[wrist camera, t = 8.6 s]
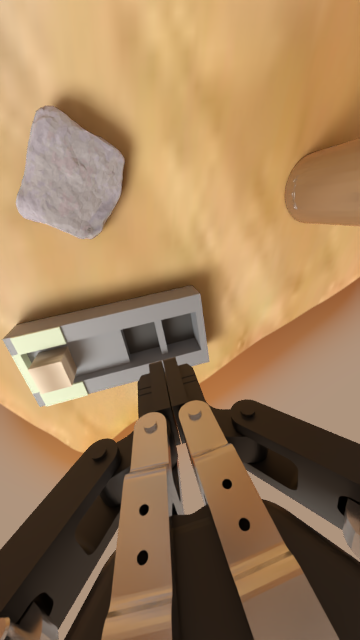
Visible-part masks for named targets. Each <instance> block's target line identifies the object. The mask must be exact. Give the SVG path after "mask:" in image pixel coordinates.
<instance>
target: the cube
mask: <svg viewBox="0 0 360 640" xmlns="http://www.w3.org/2000/svg"><path fill="white" fill-rule="evenodd" d="M28 371H29V373H30V375H31V377H32V378H33V380H34V382H35V384H36V386H37V388H38V390H39V391H40V393H41V394H44V393H48V392H52V391H55V390H59V389H63V388H67V387H71V386H72V385H73V381H74V378H75V375H76V371H77V367H76V365H75V363H74V360H73V358H72V356H71V353H70V351H69V349H68V346H66V347H61V348H57V349H53V350H49V351H45V352H41V353H38V354H37V356H36V357H35V359H34V361H33V362H32V364H31V365H30V367H29V369H28Z"/></svg>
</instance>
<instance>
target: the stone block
mask: <svg viewBox="0 0 360 640" xmlns="http://www.w3.org/2000/svg"><path fill="white" fill-rule="evenodd" d="M124 164H125V159H124V156H123V155H122V154H121V152H120V151H119V150H118V149H117V148H116V147H114V146H113V145H112V144H110V143H108V142H107V141H106V140H105V139H103V138H102V137H99V136H96V135H94V134H92V133H90V132H88V131H86V130H84V129H83V128H82V127H81V126H80V125H78V124H77V123H76V122H75V121H73V120H71V119H70V118H69V117H68V116H67V115H66V114H65V113H64V112H62V111H61V110H59V109H57V108H56V107H54V106H44V107H42V108H39V109H38V110H37V111H36V114H35V117H34V120H33V123H32V127H31V132H30V138H29V142H28V148H27V156H26V166H25V172H24V176H23V179H22V185H21V187H20V189H19V192H18V194H17V199H16V206H17V209H18V211H19V213H20V214H21V215H22V216H23V217H24V218H25V219H29V220H32V221H35V222H41V223H43V224H47V225H50V226H52V227H54V228H57V229H59V230H61V231H64V232H66V233H69V234H71V235H73V236H75V237H77V238H80V239H86V238H87V239H93V238H94V237H96V236H97V235H98V234H99V233H100V232H101V231H102V229H103V227H104V224H105V222H106V221H107V219H108V217H109V216H110V215H111V213H112V211H113V209H114V208H115V206H116V204H117V201H118V200H119V197H120V195H121V187H122V180H123V168H124Z"/></svg>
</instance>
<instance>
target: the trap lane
mask: <svg viewBox="0 0 360 640" xmlns="http://www.w3.org/2000/svg"><path fill="white" fill-rule="evenodd" d="M2 340H3V341H4V343H5V345H6V347H7V349H8V350H9V352H10V354H11V356H12V358H13V359H14V361H15V363H16V365H17V367H18V368H19V370H20V372H21V374H22V376H23V377H24V379H25V381H26V383H27V385H28V386H29V388H30V390H31V392H32V394H33V395H34V397H35V399H36V401H37V403H38V405H39V406H40V407H41V406H45V405H46V406H50V405H54V404H58V403H61V402H65V401H69V400H72V399H76V398H80V397H84V396H87V395H88V394H90V393H94V392H98V391H101V390H105V389H109V388H112V387H116V386H120V385H124V384H127V383H131V382H135V381H139V379H140V377H141V375H145V374H149V373H150V372H149V364H150V363H154V362H158V361H162V363H163V360H165V359H169V358H173V357H176V361H177V364H178V365H182V364H186V363H187V364H189V365H190V366H195V365H198V364H202V363H206V362H209V355H208V347H207V340H206V333H205V325H204V318H203V310H202V303H201V296H200V293H199V292H198V291H197V290H196V289H195V288H194V287H193V286H192V285H190V286H186V287H182V288H177V289H173V290H168V291H164V292H159V293H155V294H150V295H146V296H142V297H137V298H133V299H128V300H124V301H119V302H115V303H111V304H106V305H102V306H97V307H93V308H88V309H84V310H80V311H75V312H71V313H66V314H62V315H57V316H53V317H49V318H44V319H40V320H35V321H31V322H26V323H22V324H18V325H16V326H15V327H14V328H13V329H12V330H11V331H10V332H9V333H8V334H7V335H6V336H5V337H4V338H3V339H2ZM66 346H68V349H69V351H70V353H71V356H72V358H73V360H74V363H75V365H76V367H77V371H76V375H75V378H74V381H73V385H72V386H71V387H67V388H63V389H59V390H55V391H52V392H48V393H44V394H41V393H40V391H39V390H38V388H37V386H36V384H35V382H34V380H33V378H32V377H31V375H30V373H29V371H28V369H29V367H30V365H31V364H32V362H33V361H34V359H35V357H36V356H37V354H38V353H41V352H45V351H49V350H53V349H57V348H61V347H66ZM163 367H164V364H163ZM164 371H165V369H164Z"/></svg>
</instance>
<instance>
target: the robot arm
mask: <svg viewBox="0 0 360 640" xmlns="http://www.w3.org/2000/svg"><path fill="white" fill-rule="evenodd" d="M285 202H286V206H287V209H288V211H289V213H290V214H291V216H292V217H293V218H294V219H296V220H297V221H299V222H303V223H315V224H330V225H349V226H360V138H358V139H355V140H352V141H349V142H345V143H342V144H339V145H336V146H332V147H329V148H326V149H323V150H320V151H317V152H314V153H311V154H309V155H307V156H305V157H304V158H303V159H301V160H300V161H299V162H298V163H297V164H296V166H295V167H294V169H293V170H292V172H291V174H290V176H289V178H288V181H287V184H286V190H285ZM163 364H164V367H163ZM164 369H165V371H164ZM149 372H150V373H149V374H145V375H141V377H140V379H139V381H138V414H139V419H138V421H137V422H136V424H135V426H134V431H133V432H132V433H131V434H130V435H128V436H127V437H125V438H124V439H122V440H121V441H119V442H117V443H116V442H115V441H114V440H112V439H101V440H99V441H97V442H95V443H93V444H92V445H91V446H90V447H89V448H88V449H87V450H86V451H85V452H84V454H83V455H82V456H81V457H80V458H79V459H78V461H77V462H76V463H75V464H74V465H73V466H72V467H71V469H70V470H69V471H68V472H67V473H66V474H65V476H64V477H63V478H62V479H61V480H60V481H59V482H58V484H57V485H56V486H55V487H54V488H53V489H52V491H51V492H50V493H49V494H48V495H47V496H46V498H45V499H44V500H43V501H42V502H41V503H40V504H39V506H38V507H37V508H36V509H35V510H34V511H33V513H32V514H31V515H30V516H29V517H28V518H27V520H26V521H25V522H24V523H23V524H22V525H21V526H20V528H19V529H18V530H17V531H16V533H15V534H14V535H13V536H12V537H11V538H10V539H9V541H8V542H7V543H6V544H5V545H4V546H3V547H2V549H1V550H0V640H58V639H59V638H58V629H59V627H60V626H61V624H62V622H63V621H64V619H65V617H66V615H67V614H68V612H69V610H70V609H71V607H72V605H73V604H74V602H75V600H76V598H77V597H78V595H79V593H80V591H81V590H82V588H83V586H84V585H85V583H86V581H87V580H88V578H89V576H90V575H91V573H92V571H93V569H94V568H95V566H96V564H97V562H98V561H99V559H100V558H101V556H102V554H103V552H104V551H105V549H106V547H107V546H108V544H109V542H110V541H111V539H112V537H113V535H114V534H115V532H116V530H117V529H118V527H119V529H118V538H117V548H116V550H115V551H114V553H113V554H112V555H111V556H110V558H109V559H108V561H107V562H106V564H105V565H104V567H103V568H102V570H101V572H100V574H99V576H98V578H97V580H96V581H95V583H94V585H93V587H92V589H91V591H90V593H89V594H88V596H87V598H86V600H85V602H84V604H83V606H82V607H81V610H80V611H79V613H78V615H77V617H76V619H75V620H74V623H73V624H72V626H71V628H70V630H69V632H68V634H67V635H66V637H65V639H64V640H360V562H359V561H357V560H356V559H355V558H353V557H352V556H351V555H349V554H348V553H346V552H345V551H344V550H342V549H341V548H339V547H338V546H337V545H335V544H334V543H332V542H331V541H329V540H328V539H327V538H325V537H324V536H322V535H321V534H319V533H318V532H317V531H315V530H314V529H313V528H311V527H310V526H308V525H307V524H306V523H304V522H303V521H301V520H300V519H298V518H297V517H296V516H294V515H293V514H291V513H290V512H289V511H287V510H286V509H284V508H282V507H280V506H279V505H277V504H275V503H272V502H270V501H267V500H263V499H261V498H260V496H259V494H258V492H257V490H256V488H255V486H254V484H253V482H252V480H251V478H250V477H249V475H248V473H247V471H249V472H251V473H252V474H254V475H255V476H257V477H258V478H260V479H262V480H263V481H265V482H266V483H268V484H270V485H271V486H273V487H275V488H276V489H278V490H279V491H281V492H282V493H284V494H286V495H287V496H289V497H290V498H292V499H294V500H295V501H297V502H298V503H300V504H302V505H303V506H305V507H306V508H308V509H310V510H311V511H313V512H315V513H316V514H318V515H319V516H321V517H322V518H324V519H326V520H327V521H329V522H330V523H332V524H334V525H335V526H337V527H338V528H340V529H342V530H343V535H344V538H345V540H346V542H347V544H348V546H349V547H350V548H351V550H352V551H353V553H354V554H355V555H356V556H357V557H358V558H359V559H360V444H358V443H356V442H353V441H351V440H348V439H346V438H344V437H341V436H338V435H336V434H334V433H332V432H329V431H327V430H324V429H322V428H319V427H317V426H314V425H312V424H310V423H307V422H305V421H302V420H300V419H297V418H295V417H292V416H290V415H287V414H285V413H283V412H280V411H278V410H275V409H273V408H271V407H268V406H266V405H263V404H261V403H258V402H256V401H253V400H241V401H238V402H236V403H235V404H234V405H233V406H232V408H231V409H229V410H222V409H221V410H220V409H215V408H213V407H211V406H210V405H208V404H207V402H206V401H205V399H204V396H203V393H202V391H201V388H200V385H199V383H198V381H197V378H196V375H195V372H194V370H193V368H192V367H191V366H190V365H189V364H187V363H186V364H182V365H178V364H177V361H176V357H173V358H169V359H165V360H163V363H162V361H158V362H154V363H150V364H149ZM176 423H177V424H176ZM177 427H178V428H177ZM178 430H179V433H178ZM179 434H180V437H181V441H182V444H183V443H186V446H187V449H188V453H189V457H190V461H191V464H192V466H193V470H194V473H195V476H196V479H197V482H198V486H199V489H200V492H201V495H202V498H203V501H204V505H205V506H204V507H202V508H201V509H199V510H198V511H196V512H195V513H193V514H190V515H184V509H183V501H182V492H181V481H180V471H179V462H178V454H177V448H176V445H180V444H181V443H180V438H179ZM246 470H247V471H246Z"/></svg>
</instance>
